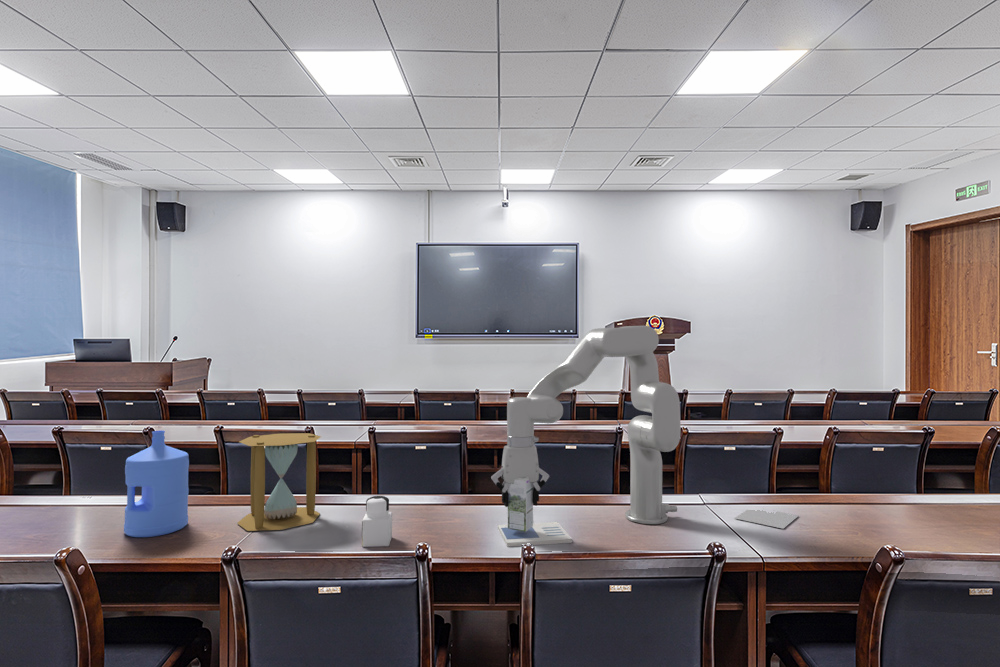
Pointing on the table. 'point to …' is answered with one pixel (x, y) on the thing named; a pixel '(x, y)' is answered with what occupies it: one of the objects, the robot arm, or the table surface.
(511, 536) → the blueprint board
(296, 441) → the hourglass
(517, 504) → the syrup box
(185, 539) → the table surface
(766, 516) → the paper stack
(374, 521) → the medicine bottle
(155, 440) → the water jug
